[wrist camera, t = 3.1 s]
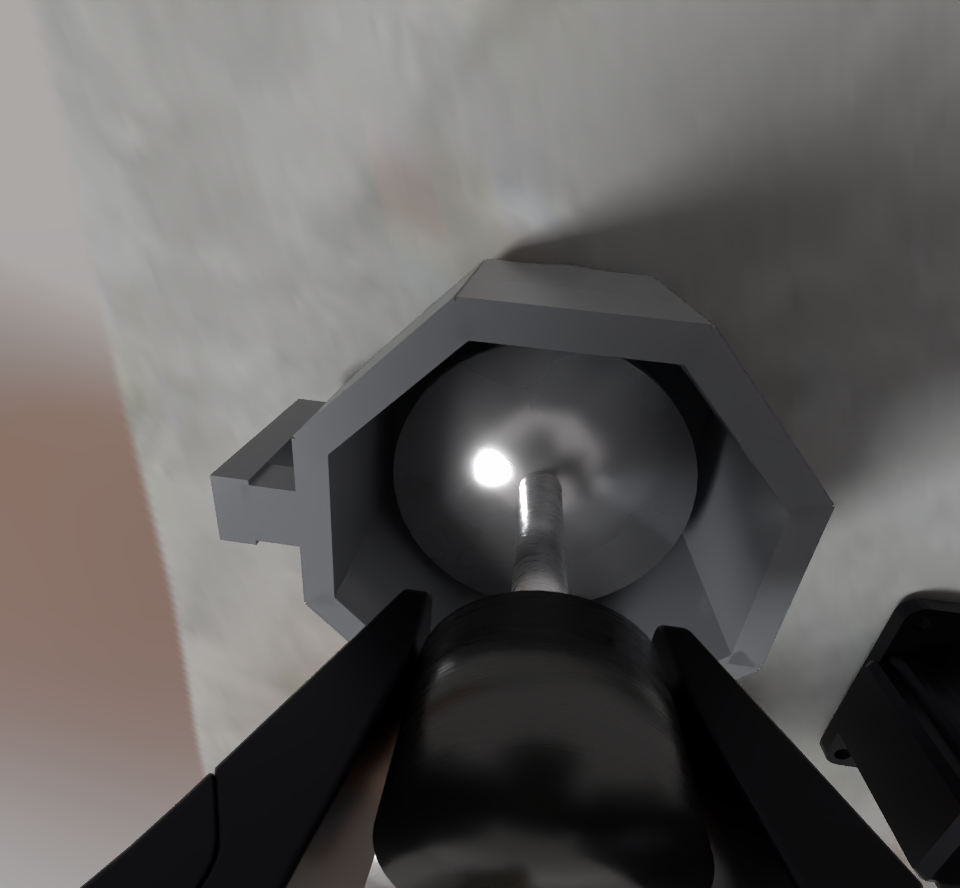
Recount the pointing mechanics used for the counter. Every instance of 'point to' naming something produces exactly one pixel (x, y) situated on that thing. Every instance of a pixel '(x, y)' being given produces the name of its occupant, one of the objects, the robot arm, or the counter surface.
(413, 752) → the coffee tamper
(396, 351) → the grey octagonal cup
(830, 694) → the counter surface
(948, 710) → the robot arm
